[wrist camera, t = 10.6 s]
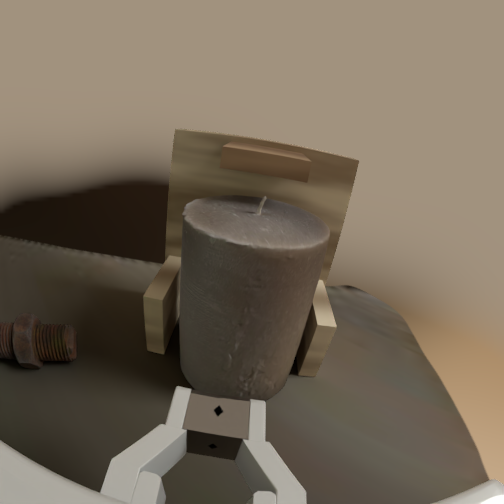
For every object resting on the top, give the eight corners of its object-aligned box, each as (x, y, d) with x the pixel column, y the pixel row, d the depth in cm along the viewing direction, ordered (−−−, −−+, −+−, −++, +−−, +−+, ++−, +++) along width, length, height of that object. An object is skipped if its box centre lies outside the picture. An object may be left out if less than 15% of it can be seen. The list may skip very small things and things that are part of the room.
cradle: (319, 377, 25) (391, 176, 17) (143, 349, 24) (141, 134, 17) (309, 319, 33) (354, 158, 25) (168, 296, 32) (179, 128, 24)
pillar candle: (289, 339, 29) (326, 193, 23) (285, 417, 20) (350, 237, 14) (194, 321, 29) (206, 172, 23) (163, 392, 21) (156, 203, 14)
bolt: (83, 378, 21) (-43, 368, 15) (80, 326, 24) (-40, 321, 18) (69, 364, 17) (-72, 350, 11) (68, 301, 20) (-66, 296, 13)
